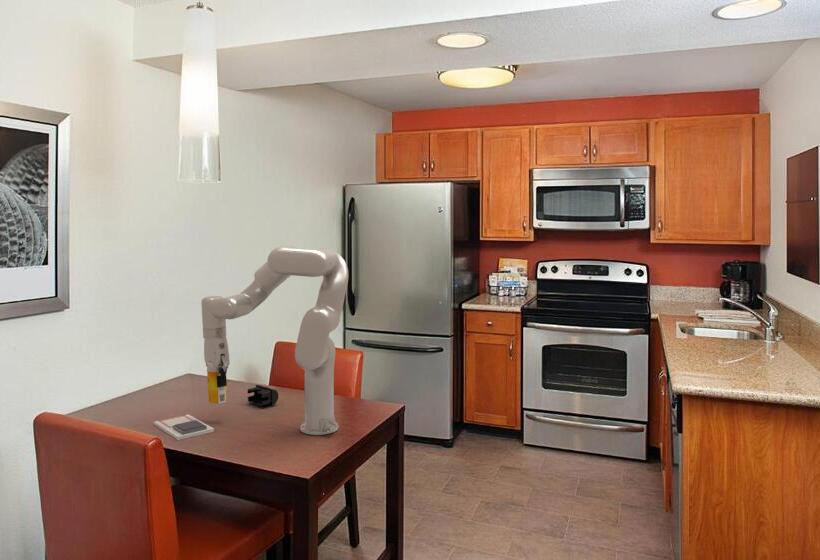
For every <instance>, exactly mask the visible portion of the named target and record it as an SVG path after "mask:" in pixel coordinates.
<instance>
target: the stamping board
mask: <svg viewBox="0 0 820 560" xmlns="http://www.w3.org/2000/svg"><path fill="white" fill-rule="evenodd" d="M153 425H154V426H155V427H157V428H158V429H159V430H161V431H163V432H164V433H166V434H167V435H169V436H170V437H172V438H174V439H175V440H176V441H180V440H185V439H188V438H192V437H193V438H194V437H197V436H201V435H206V434H209V433H210V434H211V433H214V432H215V428H214V427H212V426H210V425H208V424H207V423H204V422H203V421H201V420H199V419H197V418H196V417H194V416H192V415H191V414H183V415H180V416H173V417H169V418H165V419H164V418H163V419H161V420H156V421H153Z"/></svg>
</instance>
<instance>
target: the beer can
mask: <svg viewBox="0 0 820 560" xmlns="http://www.w3.org/2000/svg"><path fill="white" fill-rule="evenodd" d="M219 366H222V364H219ZM219 369H220V370H221V369H222V368H219ZM206 372H207V373H206V376H207V391H208V403H209V404H210V405H211V406H222V405H225V404H227V402H228V384H227V385H226V386H224V387H217V376H218V374H217V370H216V367H214V366H213V364H212V362H209V361H208V363H207V366H206Z"/></svg>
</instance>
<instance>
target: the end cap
mask: <svg viewBox="0 0 820 560" xmlns="http://www.w3.org/2000/svg"><path fill="white" fill-rule="evenodd" d="M252 393H253V394H252ZM247 394H252V395H249V396H247V401H248V404H249V406H252V407H254V408H258V409H261V410H265V408H266V409H269V408H272V407H274V405H275V404H276V403H277V402H278V401H279V393H278V391H277V390H276V389H274V388H271V387H267V386H265V385H260V384H255V387H251V388H248V389H247Z"/></svg>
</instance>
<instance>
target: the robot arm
mask: <svg viewBox="0 0 820 560" xmlns="http://www.w3.org/2000/svg"><path fill="white" fill-rule="evenodd" d="M291 276H295V277H297V276H298V277H306V278H307V277H308V278H309V277H311V278H316V277H318V278H319V277H322V281H321V284H320V287H319V290H318V295H317V299H316V303H315V304H314V305H315V306H313V307H312V308H310V309H308V310H307V311H306V312H305V313H304V315H303V318H302V319H301V323H300V327H299V332H298V336H297V339H296V344H295V348H294V349H295V350H294V359H295V362H296V364H297V365H298V366H299V368H301V369H302V370H304V422H303V423H302V424H301V425H300V427H299V430H300V431H301V433H303V434H305V435H310V436H322V435H323V436H324V435H330V434H333V433H335V432H337V431H338V430H339V423H338V422H336V418H335V415H334V413H335V412H334V411H335V409H334V408H335V407H334V405H335V403H334V402H335V398H334V397H335V395H334V393H335V392H334V388H335V387H334V386H335V385H334V382H335V379H334V378H335V376H334V374H335V361H336V346H335V343H334V340H333V339H332V338H331V337H330V334H331V332H333V331H335V330H336V329H337V328H338V326H339V323H340V320H341V315H342V311H343V307H344V303H345V297H346V292H347V289H348V284H349V283H348V282H349V268H348V265H347V262H346V260H345V259H344V258H343V257H342V256H341V254H340V253H339V252H337V251H335V250H333V249H330V248H318V249H305V248H304V249H302V248H297V247H296V246H292V245H286V246H279V247H275V248H274V249H272V250H271V251H270V253H269V254H268V256H267V261H266V262H265V263H264V264H262V265H261V266H260V267H259V268H258V269H257V270H256V271H255V272H254V274H253V277H254V279H253V281H252V282H251V283H250V285H248V286H247V287H246V288H244V290H243V291H241V292H240V293H239V294H234V295H231V296H227V297H223V296H218V295H209V296H205V297H203V298H202V299H201V302H200V304H201V316H202V317H201V319H202V338H203V339H204V342H203V348H204V349H203V356H204V358H203V359H204V362H205V364H206V365H205V366H206V367H207V363H208V361H209V362H212V364H213V366H214V367H216V370H217V374H218V376H217V387H224V386H226V385H227V386H228V384H227V382H228V381H227V373H228V369H229V365H230V364H231V363H230V351H229V350H230V349H229V343H228V339H227V320H235V319H238V318H241V317H245V316H246V315H249V314H251V313H252V312H254V310H255V309H257V308H258V307H259V306H260V305H261V304H262V303H264V302H265V301H266V300H267V298H269V296H270V295H271V294H272V293H273V291H274V290H276V289H277V288H278V287H280V285H282V284H283V283H284V282H285V281H286V280H288V279H289V278H290V277H291ZM219 364H222V366H219ZM219 368H222V369H221V370H220V369H219Z"/></svg>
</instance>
